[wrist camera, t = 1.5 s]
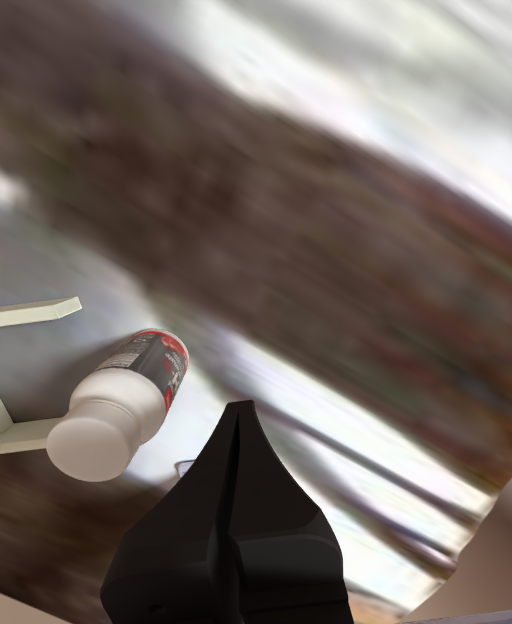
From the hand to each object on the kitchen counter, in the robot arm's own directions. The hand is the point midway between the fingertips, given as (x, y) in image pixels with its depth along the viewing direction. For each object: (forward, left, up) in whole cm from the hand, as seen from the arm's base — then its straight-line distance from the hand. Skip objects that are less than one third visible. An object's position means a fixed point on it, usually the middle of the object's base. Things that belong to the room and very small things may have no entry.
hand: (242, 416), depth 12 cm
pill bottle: (0, +8, -9) cm, 12 cm away
